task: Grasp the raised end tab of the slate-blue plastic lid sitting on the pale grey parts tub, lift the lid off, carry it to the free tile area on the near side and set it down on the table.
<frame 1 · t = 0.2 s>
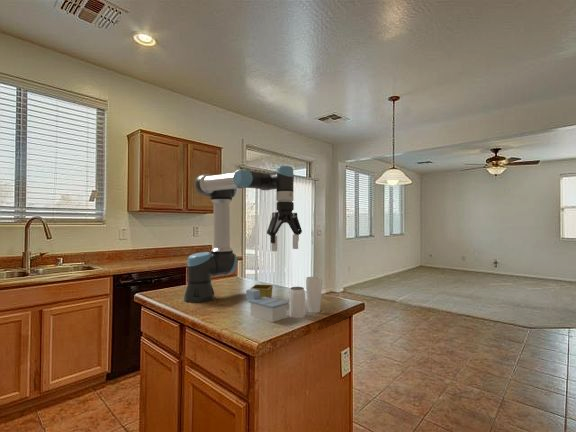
hand: (285, 250, 137), 27 cm above the countertop, fingers open, 13 cm apart
lid: (268, 303, 129), point 6 cm above the countertop, touching tub
can: (297, 317, 130), on the countertop
tub: (268, 317, 129), on the countertop
flower pot: (261, 306, 148), on the countertop
drinking glass: (314, 312, 137), on the countertop
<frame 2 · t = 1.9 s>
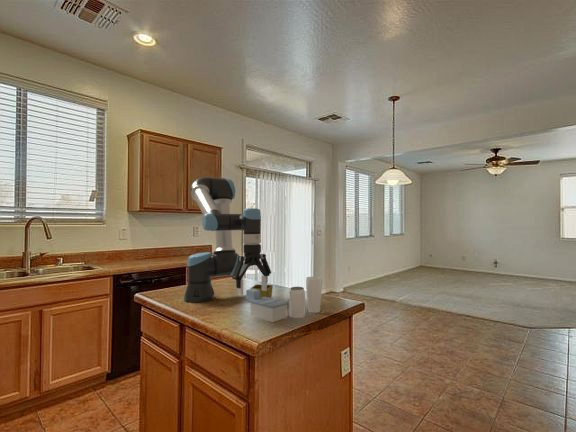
hand: (252, 293, 135), 9 cm above the countertop, fingers open, 13 cm apart
nothing on the countertop moved.
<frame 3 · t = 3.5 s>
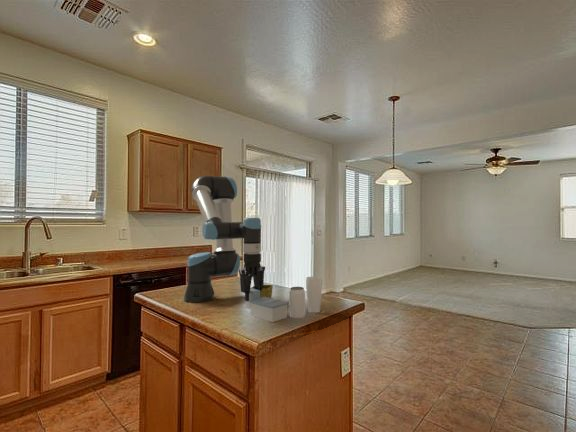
hand: (252, 307, 136), 3 cm above the countertop, fingers closed on lid, 3 cm apart
lid: (268, 303, 129), point 6 cm above the countertop, touching gripper, tub
everything else where it was.
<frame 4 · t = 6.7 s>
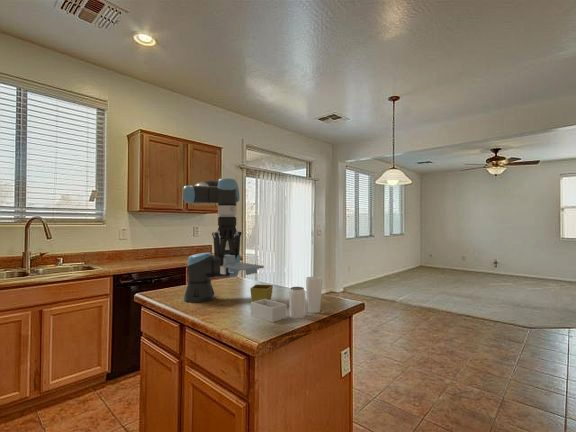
hand: (227, 273, 128), 18 cm above the countertop, fingers closed on lid, 3 cm apart
lid: (242, 267, 122), point 22 cm above the countertop, touching gripper
everything else where it was.
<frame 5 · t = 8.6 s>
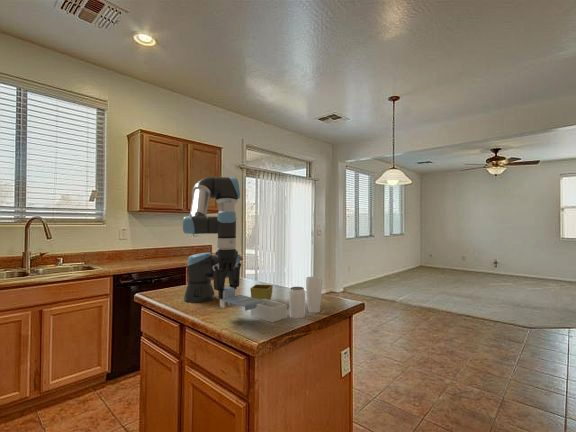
hand: (226, 305, 128), 5 cm above the countertop, fingers closed on lid, 3 cm apart
lid: (242, 301, 121), point 9 cm above the countertop, touching gripper
everything else where it was.
when the fingers open (1 cm above the countertop, at t = 9.9 s): lid drops 3 cm, point 2 cm above the countertop.
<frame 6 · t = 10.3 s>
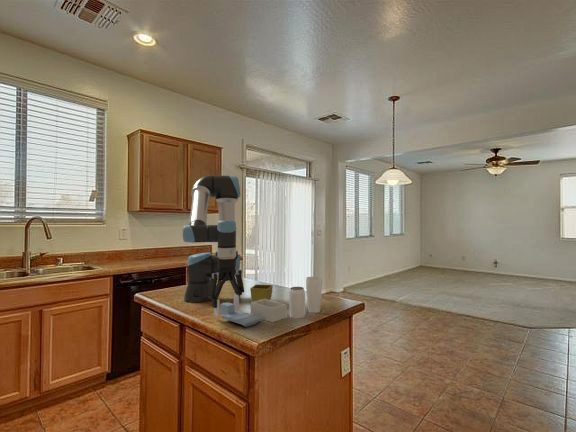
hand: (226, 312, 128), 2 cm above the countertop, fingers open, 9 cm apart
lid: (242, 318, 121), point 2 cm above the countertop
everything else where it was.
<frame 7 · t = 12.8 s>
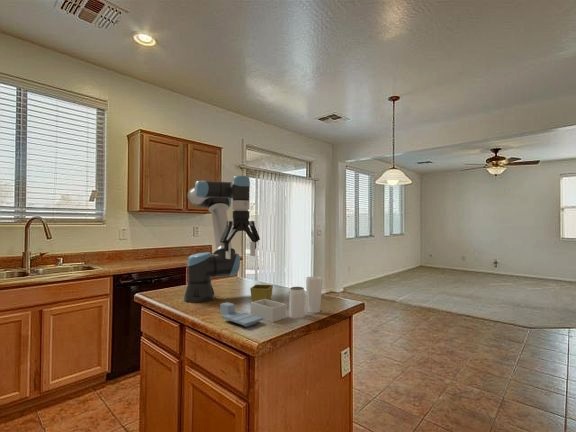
hand: (240, 257, 141), 24 cm above the countertop, fingers open, 13 cm apart
nothing on the countertop moved.
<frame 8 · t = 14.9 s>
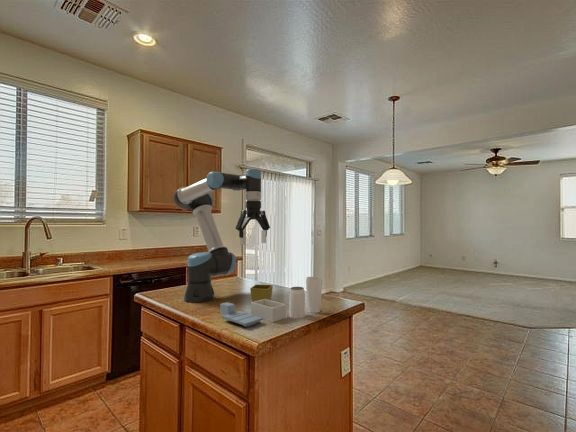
hand: (253, 243, 154), 29 cm above the countertop, fingers open, 13 cm apart
nothing on the countertop moved.
at the end: lid inside the target area (0.5 cm from its centre), point 1.9 cm above the countertop; lid touching countertop; the gripper is holding nothing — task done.
